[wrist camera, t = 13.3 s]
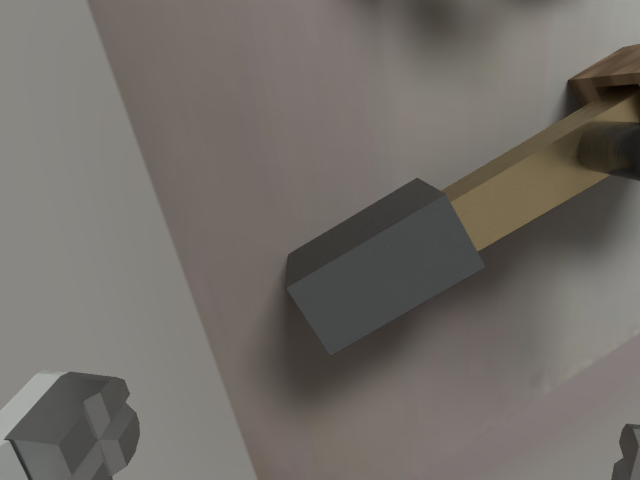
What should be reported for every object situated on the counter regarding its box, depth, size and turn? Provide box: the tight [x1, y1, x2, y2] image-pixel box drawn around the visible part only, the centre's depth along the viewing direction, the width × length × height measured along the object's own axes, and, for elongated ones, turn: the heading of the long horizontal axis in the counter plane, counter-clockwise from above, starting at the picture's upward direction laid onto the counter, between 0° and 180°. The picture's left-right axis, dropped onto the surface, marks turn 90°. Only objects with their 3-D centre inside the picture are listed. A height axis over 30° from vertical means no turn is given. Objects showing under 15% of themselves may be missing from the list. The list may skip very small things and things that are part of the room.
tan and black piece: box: [441, 84, 640, 252], centre depth 31 cm, size 18×4×12 cm, turn 121°
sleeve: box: [286, 178, 486, 356], centre depth 38 cm, size 11×5×8 cm, turn 121°
